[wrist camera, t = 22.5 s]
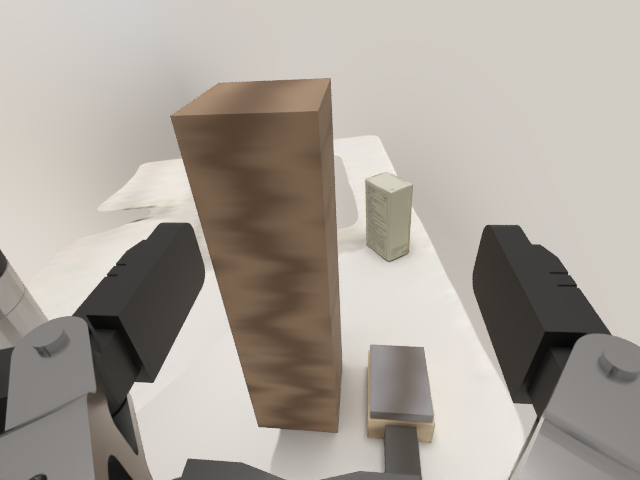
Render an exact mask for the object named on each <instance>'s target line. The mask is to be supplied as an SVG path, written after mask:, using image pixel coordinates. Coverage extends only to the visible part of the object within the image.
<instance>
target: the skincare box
mask: <svg viewBox="0 0 640 480" xmlns="http://www.w3.org/2000/svg"><path fill="white" fill-rule="evenodd" d="M365 185H366V240H367V245H368V246H369V247H370V248H372V249H373V250H374V251H375V252H377V253H378V254H379V255H380V256H382V257H383V258H385V259H386V260H387V261H391V260H393V259H396V258H398V257H400V256H402V255H404V254H406V253H408V252H409V240H410V224H411V207H412V190H413V184H411V183H409V182H407V181H405V180H403V179H401V178H399V177H397V176H395V175H393V174H390V173H388V172H385V173H382V174H379V175H376V176H373V177H370V178H367V179H365Z"/></svg>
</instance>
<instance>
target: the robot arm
mask: <svg viewBox="0 0 640 480" xmlns="http://www.w3.org/2000/svg"><path fill="white" fill-rule="evenodd" d="M204 279H205V267H204V263H203V260H202V256H201V253H200V250H199V246H198V243H197V240H196V236H195V233H194V230H193V227H192V226H191V225H190V224H189V223H160V224H159V225H158V226H157V227H156V229H155V230H154V231H153V232H152V234H151V235H150V236H149V237H148V238H147V240H142V241H141V242H139V243H138V244H136V245H135V246H133V247H132V248H130V249H129V250H127V251H126V253H125V254H124V255H123V256H122V257H121V258H120V260H119V261H118V262H117V263H116V266H114V267H113V268H112V269H111V270H110V271H109V273H108V274H107V277H104V279H103V280H102V281H101V282H100V283H99V284H98V286H97V287H96V288H95V289H94V290H93V291H92V293H91V294H90V295H89V296H88V297H87V299H86V300H85V301H84V302H83V303H82V304H81V306H80V307H79V308H78V309H77V310H76V312H75V313H74V314H73V315H72V316H66V317H60V318H56V319H53V320H50V321H48V319H47V318H46V316H45V315H44V313H43V312H42V310H41V309H40V307H39V306H38V304H37V303H36V301H35V300H34V298H33V297H32V295H31V294H30V292H29V291H28V289H27V288H26V287H25V285H24V284H23V282H22V281H21V279H20V278H19V277H18V275H17V273H16V272H15V271H14V269H13V268H12V266H11V265H10V263H9V262H8V260H7V259H6V257H5V256H4V254H3V253H2V251H1V250H0V480H153V479H152V476H151V474H150V472H149V469H148V466H147V463H146V459H145V454H144V450H143V446H142V441H141V437H140V432H139V428H138V423H137V419H136V414H135V410H134V405H133V401H132V398H131V395H130V394H129V391H130V389H131V387H132V385H133V384H134V382H147V383H153V382H154V381H155V379H156V377H157V375H158V373H159V371H160V369H161V367H162V365H163V363H164V361H165V359H166V357H167V355H168V353H169V351H170V349H171V347H172V345H173V343H174V341H175V339H176V337H177V335H178V333H179V331H180V329H181V327H182V326H183V324H184V322H185V320H186V318H187V316H188V314H189V312H190V310H191V308H192V306H193V304H194V302H195V300H196V298H197V296H198V294H199V292H200V290H201V288H202V286H203V283H204ZM473 290H474V294H475V297H476V300H477V302H478V305H479V308H480V311H481V314H482V317H483V319H484V322H485V325H486V327H487V331H488V333H489V336H490V339H491V342H492V345H493V347H494V350H495V353H496V356H497V359H498V361H499V364H500V367H501V370H502V372H503V375H504V378H505V381H506V384H507V387H508V390H509V392H510V395H511V398H512V401H513V403H521V404H533V407H534V409H535V411H536V414H537V417H536V419H535V421H534V423H533V425H532V427H531V429H530V432H529V434H528V436H527V438H526V440H525V443H524V445H523V447H522V449H521V451H520V454H519V456H518V458H517V460H516V462H515V465H514V467H513V469H512V471H511V473H510V476H509V478H508V480H640V347H639V346H637V345H636V344H634V343H632V342H629V341H627V340H625V339H622V338H619V337H616V336H612V335H611V333H610V332H609V330H608V329H607V327H606V326H605V325H604V323H603V322H602V320H601V319H600V317H599V316H598V314H597V313H596V312H595V310H594V309H593V307H592V306H591V304H590V303H589V301H588V300H587V299H586V297H585V296H584V294H583V293H582V291H581V290H580V289H579V288H577V284H576V283H575V281H574V280H573V279H572V277H571V276H570V275H568V271H567V270H566V268H565V267H564V266H563V264H562V263H561V262H560V260H559V258H558V257H557V256H555V255H554V254H552V253H551V252H550V251H548V250H547V249H546V248H544V247H543V246H541V245H532V244H531V243H530V241H529V240H528V238H527V237H526V235H525V233H524V232H523V230H522V229H521V227H520V226H518V225H487V226H486V227H485V228H484V230H483V233H482V238H481V241H480V245H479V250H478V253H477V257H476V261H475V266H474V270H473ZM173 480H285V479H282V478H280V477H277V476H275V475H272V474H270V473H267V472H264V471H262V470H259V469H257V468H254V467H252V466H249V465H246V464H244V463H239V462H227V461H226V462H225V461H213V460H198V459H188V460H187V462H186V465H185V468H184V471H183V474H182V477H179V478H176V479H173ZM322 480H420V476H418V475H404V474H390V473H377V472H363V471H359V472H354V473H350V474H345V475H340V476H336V477H331V478H327V479H322Z"/></svg>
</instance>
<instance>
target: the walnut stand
mask: <svg viewBox="0 0 640 480" xmlns="http://www.w3.org/2000/svg"><path fill="white" fill-rule="evenodd" d="M170 117H171V120H172V124H173V127H174V131H175V134H176V138H177V141H178V145H179V148H180V151H181V155H182V159H183V162H184V166H185V169H186V173H187V177H188V180H189V184H190V187H191V191H192V194H193V198H194V201H195V205H196V208H197V212H198V215H199V219H200V222H201V226H202V229H203V233H204V236H205V240H206V243H207V247H208V250H209V254H210V258H211V261H212V265H213V268H214V272H215V275H216V279H217V282H218V286H219V289H220V293H221V296H222V300H223V303H224V307H225V310H226V314H227V317H228V321H229V324H230V328H231V331H232V335H233V338H234V342H235V346H236V349H237V353H238V356H239V359H240V363H241V367H242V370H243V374H244V377H245V381H246V384H247V388H248V391H249V394H250V398H251V402H252V405H253V409H254V412H255V416H256V419H257V423H258V426H259V427H267V428H281V429H295V430H309V431H323V432H337V433H338V422H339V406H340V390H341V375H342V347H341V323H340V298H339V274H338V249H337V226H336V225H337V224H336V202H335V176H334V151H333V127H332V104H331V79H330V78H324V79H300V80H277V81H253V82H229V83H218V84H217V85H215V86H214V87H212V88H211V89H209V90H208V91H206V92H205V93H203V94H202V95H200V96H199V97H197V98H196V99H194V100H193V101H192V102H190V103H189V104H187V105H186V106H184V107H183V108H181V109H180V110H178V111H177V112H175V113H174V114H172V115H171V116H170Z"/></svg>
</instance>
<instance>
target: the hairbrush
mask: <svg viewBox="0 0 640 480" xmlns="http://www.w3.org/2000/svg"><path fill="white" fill-rule="evenodd" d="M434 427H435V423H434V414H433V407H432V400H431V393H430V386H429V380H428V373H427V366H426V359H425V353H424V347H408V346H387V345H370V350H368V438H381V439H384V446H385V473H390V474H404V475H418V476H420V480H422V477H421V468H420V458H419V448H418V442H432V437H433V432H434Z"/></svg>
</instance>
